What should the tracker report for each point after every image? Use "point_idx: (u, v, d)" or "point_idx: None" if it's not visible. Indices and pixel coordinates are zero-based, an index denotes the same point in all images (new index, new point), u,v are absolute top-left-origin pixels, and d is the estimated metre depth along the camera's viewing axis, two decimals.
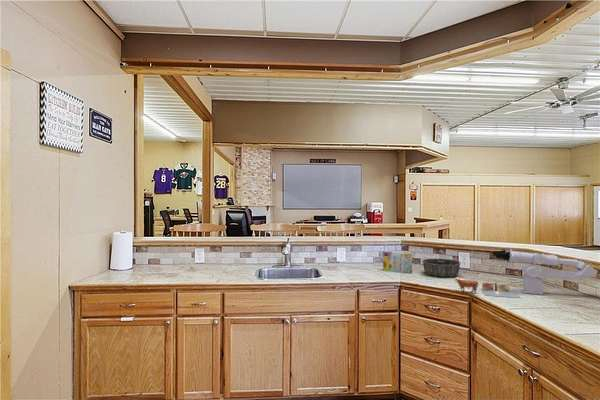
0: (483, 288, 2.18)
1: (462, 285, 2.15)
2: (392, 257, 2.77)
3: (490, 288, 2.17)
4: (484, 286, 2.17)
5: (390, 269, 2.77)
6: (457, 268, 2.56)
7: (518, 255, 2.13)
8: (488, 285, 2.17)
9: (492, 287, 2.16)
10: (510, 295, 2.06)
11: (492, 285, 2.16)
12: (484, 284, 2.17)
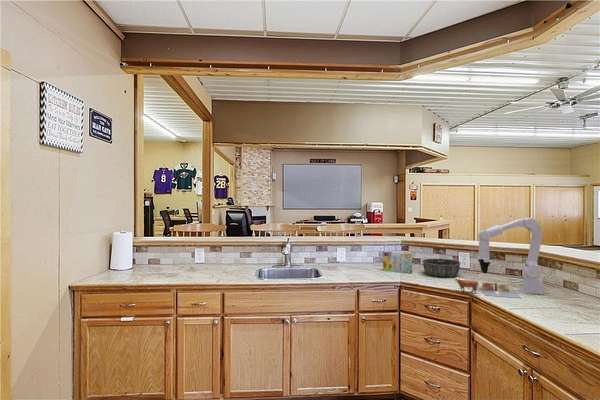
0: (483, 288, 2.18)
1: (462, 285, 2.15)
2: (392, 257, 2.77)
3: (490, 288, 2.17)
4: (484, 286, 2.17)
5: (390, 269, 2.77)
6: (457, 268, 2.56)
7: (483, 252, 2.20)
8: (488, 285, 2.17)
9: (492, 287, 2.16)
10: (510, 295, 2.06)
11: (492, 285, 2.16)
12: (484, 284, 2.17)
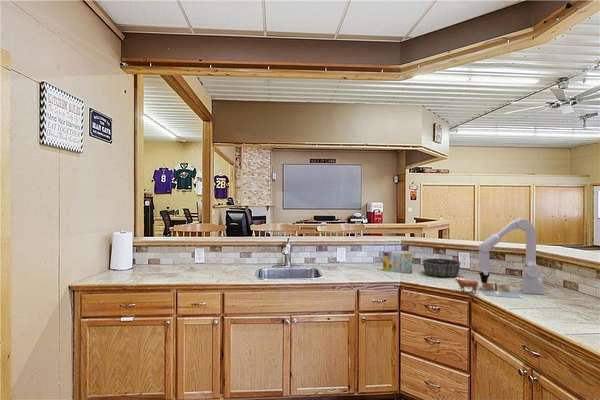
0: (483, 288, 2.18)
1: (462, 285, 2.15)
2: (392, 257, 2.77)
3: (490, 288, 2.17)
4: (484, 286, 2.17)
5: (390, 269, 2.77)
6: (457, 268, 2.56)
7: (483, 264, 2.20)
8: (488, 285, 2.17)
9: (492, 287, 2.16)
10: (510, 295, 2.06)
11: (492, 285, 2.16)
12: (484, 284, 2.17)
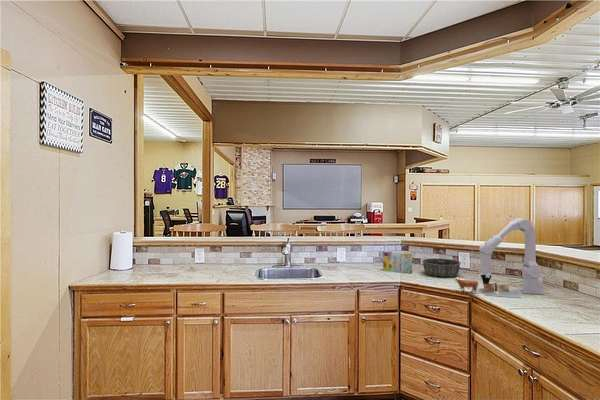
0: (485, 289, 2.15)
1: (462, 285, 2.15)
2: (392, 257, 2.77)
3: (491, 289, 2.15)
4: (486, 287, 2.15)
5: (390, 269, 2.77)
6: (457, 268, 2.56)
7: (484, 267, 2.14)
8: (489, 286, 2.15)
9: (493, 287, 2.15)
10: (510, 295, 2.06)
11: (493, 285, 2.15)
12: (486, 285, 2.15)
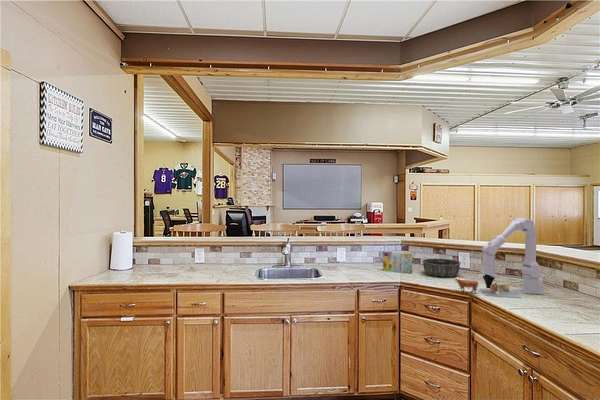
0: (492, 291, 2.11)
1: (462, 285, 2.15)
2: (392, 257, 2.77)
3: (494, 289, 2.14)
4: (492, 288, 2.12)
5: (390, 269, 2.77)
6: (457, 268, 2.56)
7: (490, 267, 2.10)
8: (494, 287, 2.13)
9: (495, 288, 2.14)
10: (510, 295, 2.06)
11: (495, 286, 2.14)
12: (492, 286, 2.12)
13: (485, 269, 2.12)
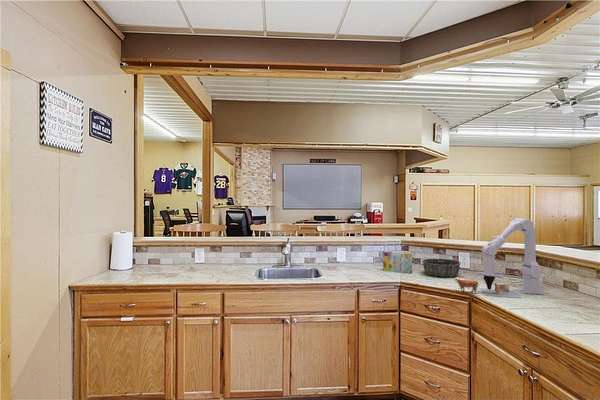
0: None
1: (462, 285, 2.15)
2: (392, 257, 2.77)
3: None
4: None
5: (390, 269, 2.77)
6: (457, 268, 2.56)
7: (493, 268, 2.10)
8: None
9: None
10: (510, 295, 2.06)
11: None
12: None
13: (489, 270, 2.10)
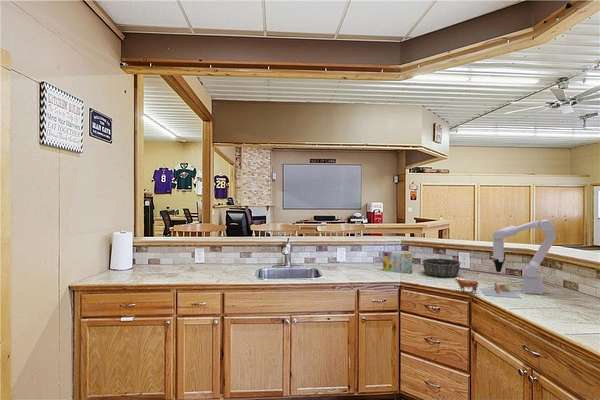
0: None
1: (462, 285, 2.15)
2: (392, 257, 2.77)
3: None
4: None
5: (390, 269, 2.77)
6: (457, 268, 2.56)
7: (497, 251, 2.20)
8: None
9: None
10: (510, 295, 2.06)
11: None
12: None
13: (493, 253, 2.23)
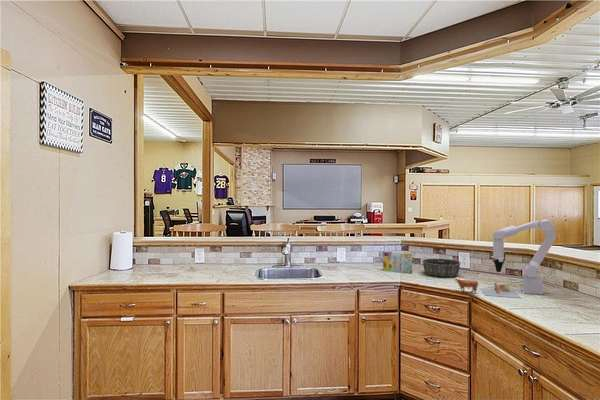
0: None
1: (462, 285, 2.15)
2: (392, 257, 2.77)
3: None
4: None
5: (390, 269, 2.77)
6: (457, 268, 2.56)
7: (497, 251, 2.20)
8: None
9: None
10: (510, 295, 2.06)
11: None
12: None
13: (493, 253, 2.23)
